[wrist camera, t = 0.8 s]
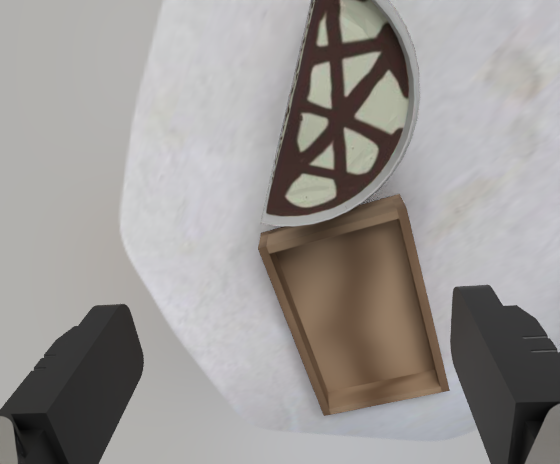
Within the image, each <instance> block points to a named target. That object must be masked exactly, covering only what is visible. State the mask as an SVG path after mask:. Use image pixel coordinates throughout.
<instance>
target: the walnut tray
mask: <svg viewBox="0 0 560 464" xmlns="http://www.w3.org/2000/svg"><path fill="white" fill-rule="evenodd" d="M258 250H259V252H260V255H261V257H262V260H263V262H264V265H265V267H266V270H267V272H268V275H269V278H270V280H271V283H272V285H273V288H274V290H275V293H276V295H277V298H278V300H279V303H280V305H281V308H282V311H283V313H284V316H285V318H286V321H287V323H288V326H289V328H290V331H291V333H292V336H293V338H294V341H295V344H296V346H297V349H298V351H299V354H300V356H301V359H302V361H303V364H304V366H305V369H306V371H307V374H308V377H309V379H310V382H311V384H312V387H313V389H314V392H315V394H316V397H317V399H318V402H319V404H320V407H321V410H322V412H323V415H324V416H326V415H331V414H336V413H341V412H346V411H351V410H356V409H361V408H366V407H371V406H376V405H380V404H385V403H390V402H395V401H400V400H405V399H410V398H415V397H420V396H425V395H430V394H435V393H440V392H445V391H450V390H449V386H448V382H447V378H446V374H445V369H444V365H443V361H442V357H441V352H440V348H439V344H438V340H437V335H436V331H435V327H434V323H433V319H432V314H431V310H430V306H429V302H428V297H427V293H426V289H425V285H424V280H423V276H422V272H421V268H420V264H419V259H418V255H417V251H416V247H415V242H414V238H413V234H412V230H411V225H410V221H409V217H408V213H407V209H406V206H405V204H404V202H403V200H402V198H401V196H400V194H398V195H394V196H391V197H387V198H383V199H380V200H376V201H373V202H369V203H366V204H362V205H359V206H356V207H355V208H353V209H351V210H350V211H348V212H346V213H343V214H341V215H339V216H336V217H334V218H332V219H329V220H325V221H322V222H318V223H315V224H309V225H302V226H284V227H281V228H277V229H273V230H270V231H266V232H263V233H261V237H260V242H259V247H258Z"/></svg>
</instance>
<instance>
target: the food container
mask: <svg viewBox="0 0 560 464" xmlns="http://www.w3.org/2000/svg"><path fill="white" fill-rule="evenodd" d="M419 101H420V83H419V68H418V63H417V58H416V53H415V48H414V45H413V43H412V40H411V38H410V35H409V32H408V30H407V27H406V25H405V24H404V22H403V20H402V18H401V17H400V15H399V13H398V12H397V10H396V8H395V7H394V6H393V4H392V3H391V2H390V1H389V0H311V4H310V8H309V12H308V17H307V21H306V25H305V30H304V34H303V38H302V43H301V47H300V51H299V56H298V60H297V64H296V69H295V73H294V77H293V82H292V86H291V90H290V95H289V99H288V103H287V108H286V112H285V116H284V121H283V125H282V129H281V134H280V138H279V143H278V147H277V151H276V156H275V160H274V165H273V169H272V174H271V179H270V183H269V188H268V192H267V197H266V201H265V206H264V210H263V214H262V219H261V224H266V225H273V226H302V225H309V224H315V223H318V222H322V221H325V220H329V219H332V218H334V217H336V216H339V215H341V214H343V213H346V212H348V211H350V210H351V209H353V208H355V207H356V206H358V205H359V204H361V203H363V202H364V201H366V200H367V199H368V198H369V197H370V196H371V195H373V194H374V193H375V192H376V191H377V190H378V189H380V188H381V186H382V185H383V184H384V183H385V182H386V181H387V180H388V178H389V177H390V176H391V175H392V174H393V172H394V171H395V169H396V168H397V166H398V165H399V163H400V161H401V160H402V158H403V157H404V155H405V152H406V150H407V148H408V146H409V143H410V141H411V139H412V136H413V132H414V129H415V125H416V121H417V118H418V109H419Z"/></svg>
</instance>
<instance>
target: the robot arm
mask: <svg viewBox="0 0 560 464" xmlns="http://www.w3.org/2000/svg"><path fill="white" fill-rule="evenodd" d="M450 343H451V354H452V360H453V364H454V367H455V370H456V373H457V375H458V378H459V381H460V383H461V386H462V389H463V391H464V394H465V396H466V399H467V402H468V404H469V407H470V410H471V412H472V415H473V418H474V420H475V423H476V426H477V428H478V431H479V433H480V436H481V439H482V441H483V444H484V447H485V449H486V452H487V455H488V457H489V460H490V463H491V464H560V352H557V348H556V347H555V345H554V344H553V342H552V341H551V339H550V338H549V339H548V336H547V334H546V332H545V331H544V329H543V328H542V327H541V325H540V324H539V322H538V321H537V320H536V318H534V317H533V316H531V315H530V314H528V313H527V312H525V311H524V310H522V309H521V308H520V307H518V306H517V305H515V306H503V305H502V303H501V302H500V300H499V299H498V297H497V295H496V294H495V292H494V291H493V289H492V288H491V286H490V285H479V286H460V287H455V288H454V290H453V299H452V319H451V339H450ZM143 359H144V358H143V352H142V348H141V345H140V342H139V338H138V335H137V332H136V328H135V325H134V322H133V318H132V315H131V312H130V310H129V308H128V307H127V305H125V304H116V305H98V306H94V307H93V308H92V309H91V310H90V311H89V312H88V314H87V315H86V316H85V318H84V319H83V320H82V322H81V323H80V324H79V326H74V327H73V328H72V329H70V330H69V331H68V332H66V333H65V334H63V335H62V336H61V337H59V338H58V339H57V340H56V341H55V342H54V343H53V344H52V346H51V347H50V348H49V349H48V351H47V352H46V353H45V354H44V358H42V359H40V361H39V362H38V363H37V365H36V366H35V367H34V371H31V372H30V373H29V375H28V376H27V377H26V378H25V379H24V381H23V382H22V383H21V384H20V386H19V387H18V388H17V390H16V391H15V392H14V393H13V394H12V396H11V397H10V398H9V399H8V401H7V402H6V403H5V404H4V406H3V407H2V408H1V409H0V464H99V462H100V459H101V458H102V455H103V453H104V451H105V449H106V447H107V445H108V443H109V441H110V439H111V437H112V435H113V433H114V431H115V429H116V427H117V424H118V423H119V421H120V418H121V416H122V414H123V413H124V410H125V408H126V406H127V404H128V402H129V400H130V398H131V396H132V394H133V392H134V390H135V388H136V386H137V384H138V382H139V380H140V378H141V375H142V371H143V364H144V362H143V361H144V360H143Z"/></svg>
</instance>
